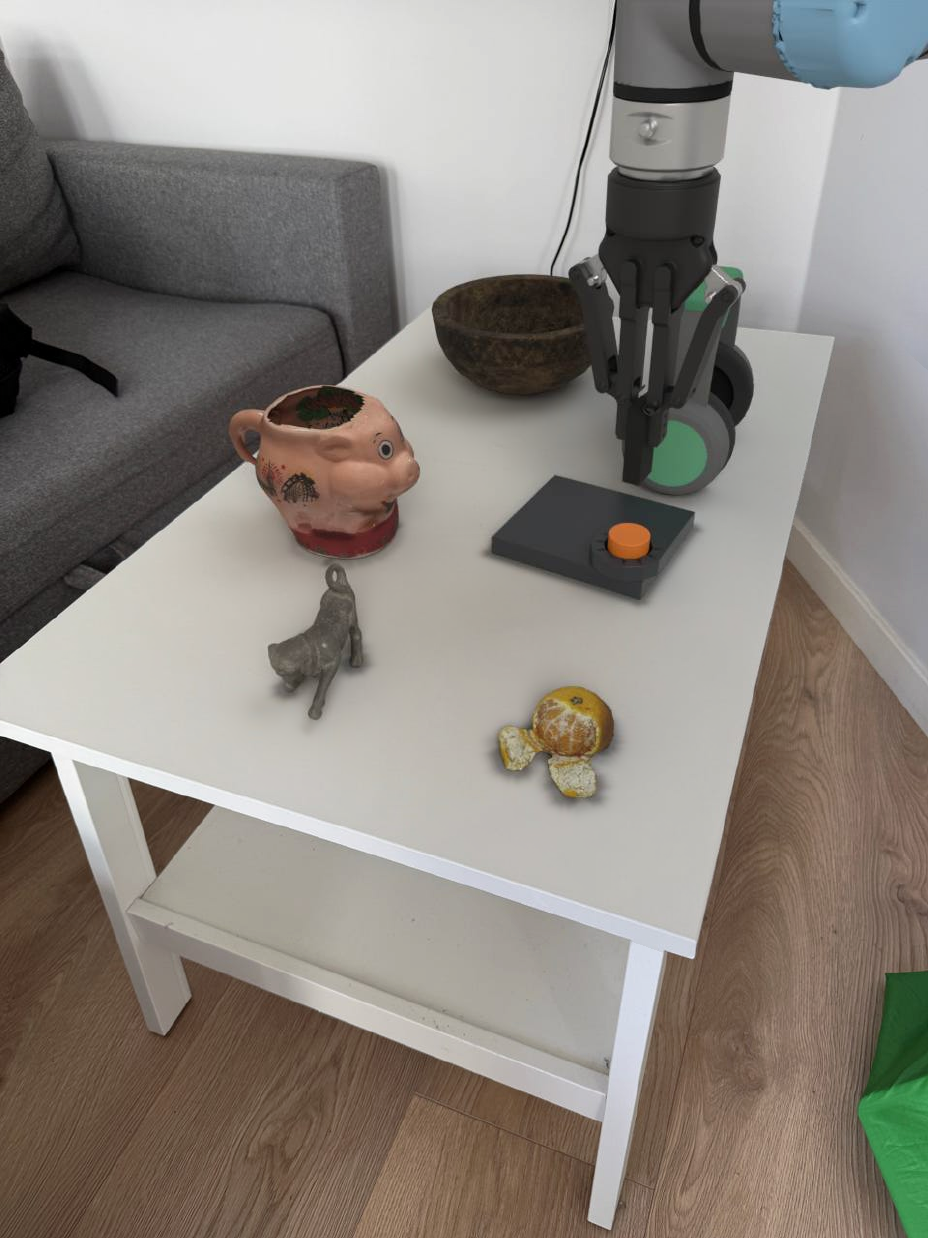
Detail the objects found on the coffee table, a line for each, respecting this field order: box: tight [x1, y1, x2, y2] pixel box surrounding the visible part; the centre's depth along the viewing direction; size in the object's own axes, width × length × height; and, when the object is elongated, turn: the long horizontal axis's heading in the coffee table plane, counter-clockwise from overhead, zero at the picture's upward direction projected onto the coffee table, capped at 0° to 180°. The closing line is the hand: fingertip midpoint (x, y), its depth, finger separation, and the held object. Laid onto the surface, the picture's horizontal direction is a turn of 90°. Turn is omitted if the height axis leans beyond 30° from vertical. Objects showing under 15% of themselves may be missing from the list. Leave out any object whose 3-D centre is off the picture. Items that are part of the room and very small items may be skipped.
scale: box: [491, 474, 696, 600], centre depth 86 cm, size 16×14×4 cm
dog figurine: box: [267, 562, 364, 721], centre depth 71 cm, size 12×6×7 cm, turn 164°
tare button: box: [608, 523, 650, 559], centre depth 80 cm, size 4×4×2 cm
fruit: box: [497, 685, 615, 799], centre depth 66 cm, size 8×8×4 cm
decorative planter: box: [227, 384, 421, 560], centre depth 85 cm, size 20×12×14 cm, turn 71°
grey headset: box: [621, 265, 755, 496], centre depth 93 cm, size 19×11×20 cm, turn 157°
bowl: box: [431, 273, 615, 395], centre depth 112 cm, size 22×22×10 cm
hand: (636, 476), depth 76 cm, fingers closed
